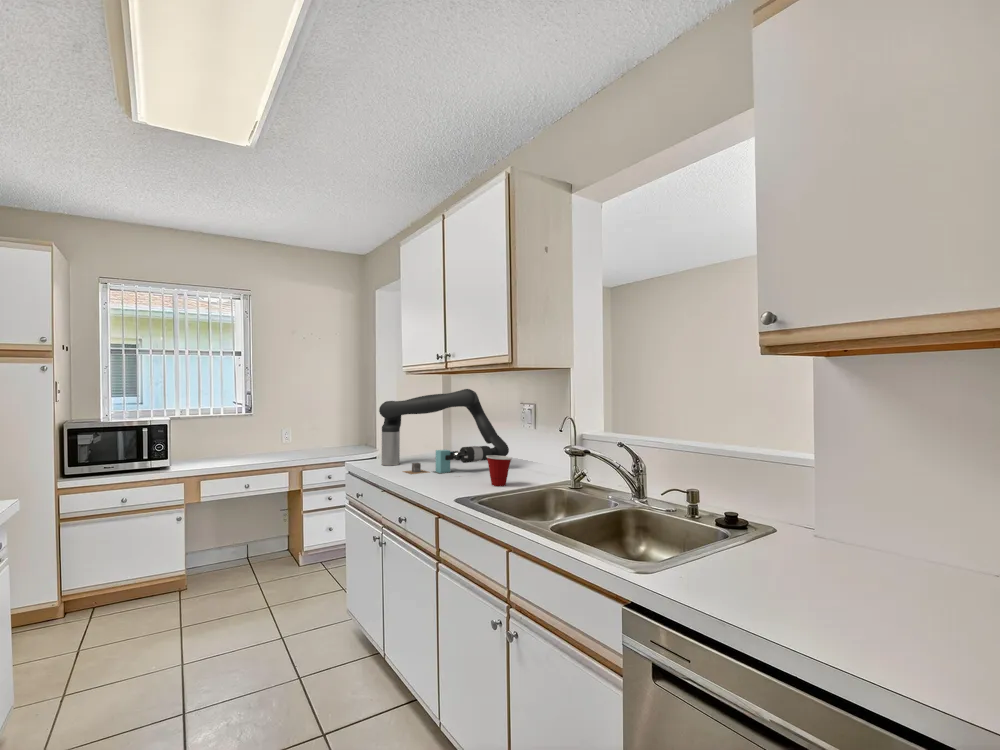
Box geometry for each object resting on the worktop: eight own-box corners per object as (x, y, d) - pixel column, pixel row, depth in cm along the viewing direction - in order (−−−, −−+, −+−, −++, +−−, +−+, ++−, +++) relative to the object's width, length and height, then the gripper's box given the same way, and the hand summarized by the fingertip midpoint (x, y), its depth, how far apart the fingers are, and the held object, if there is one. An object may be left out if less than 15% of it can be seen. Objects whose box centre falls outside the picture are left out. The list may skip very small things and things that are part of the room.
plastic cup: (516, 486, 210) (516, 457, 211) (490, 488, 207) (490, 458, 207) (507, 482, 221) (507, 453, 221) (482, 483, 217) (482, 454, 218)
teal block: (435, 471, 242) (435, 450, 242) (445, 470, 245) (445, 449, 245) (440, 473, 238) (440, 451, 238) (450, 472, 241) (450, 450, 241)
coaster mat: (431, 473, 242) (431, 471, 242) (446, 472, 247) (446, 470, 247) (439, 476, 236) (439, 473, 236) (454, 474, 240) (454, 472, 240)
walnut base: (401, 473, 243) (401, 462, 243) (421, 471, 249) (421, 461, 249) (410, 476, 235) (410, 465, 235) (430, 474, 241) (430, 463, 241)
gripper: (463, 445, 256) (434, 447, 247) (479, 447, 244) (448, 450, 235) (463, 460, 256) (434, 463, 247) (479, 463, 244) (448, 466, 235)
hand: (441, 456), depth 241 cm, fingers open, 8 cm apart
